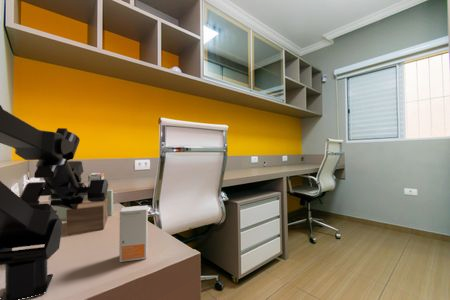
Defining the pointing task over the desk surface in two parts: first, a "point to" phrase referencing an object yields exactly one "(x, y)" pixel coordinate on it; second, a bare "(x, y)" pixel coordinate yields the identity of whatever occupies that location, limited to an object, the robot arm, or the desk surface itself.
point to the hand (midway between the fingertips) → (76, 208)
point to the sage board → (63, 211)
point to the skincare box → (133, 233)
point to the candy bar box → (95, 177)
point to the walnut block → (87, 217)
